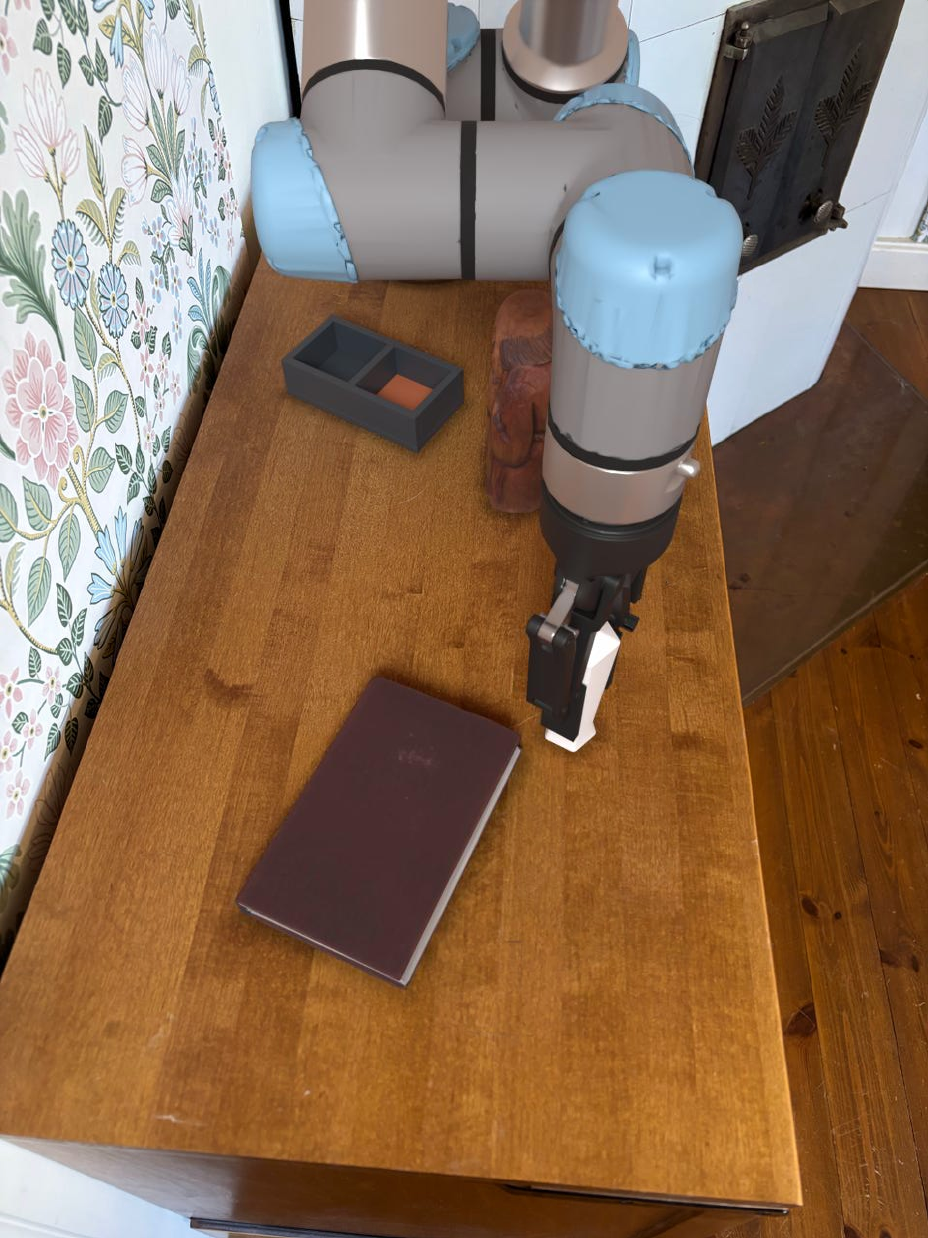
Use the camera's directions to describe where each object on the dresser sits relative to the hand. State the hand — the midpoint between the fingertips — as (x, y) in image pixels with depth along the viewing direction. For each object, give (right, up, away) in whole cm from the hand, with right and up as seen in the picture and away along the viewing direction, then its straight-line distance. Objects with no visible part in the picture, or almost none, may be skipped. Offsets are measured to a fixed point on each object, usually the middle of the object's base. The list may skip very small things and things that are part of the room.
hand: (576, 703), depth 70 cm
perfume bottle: (0, -2, +3) cm, 4 cm away
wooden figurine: (-3, +19, +19) cm, 27 cm away
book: (-13, -9, -1) cm, 16 cm away
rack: (-17, +28, +25) cm, 41 cm away
